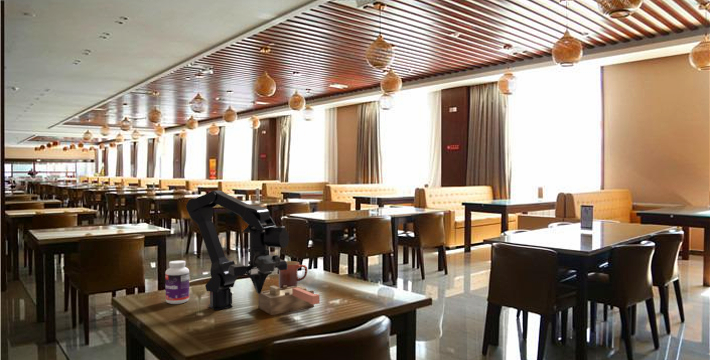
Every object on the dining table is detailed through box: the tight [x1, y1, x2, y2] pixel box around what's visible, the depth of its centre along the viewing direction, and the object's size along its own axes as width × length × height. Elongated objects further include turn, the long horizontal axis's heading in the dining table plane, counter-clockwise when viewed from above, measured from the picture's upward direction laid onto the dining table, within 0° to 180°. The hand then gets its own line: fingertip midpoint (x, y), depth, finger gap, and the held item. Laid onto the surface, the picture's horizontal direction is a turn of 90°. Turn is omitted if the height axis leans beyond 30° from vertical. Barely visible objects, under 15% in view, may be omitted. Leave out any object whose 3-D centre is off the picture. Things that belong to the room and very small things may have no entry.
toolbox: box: [257, 284, 315, 316], centre depth 165 cm, size 16×10×6 cm, turn 125°
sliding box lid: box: [265, 285, 310, 297], centre depth 165 cm, size 14×7×3 cm, turn 125°
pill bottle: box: [164, 260, 190, 305], centre depth 173 cm, size 8×8×14 cm
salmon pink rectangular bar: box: [292, 287, 321, 306], centre depth 154 cm, size 2×14×3 cm, turn 35°
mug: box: [278, 260, 308, 288], centre depth 191 cm, size 12×9×10 cm
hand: (258, 293), depth 159 cm, fingers closed
